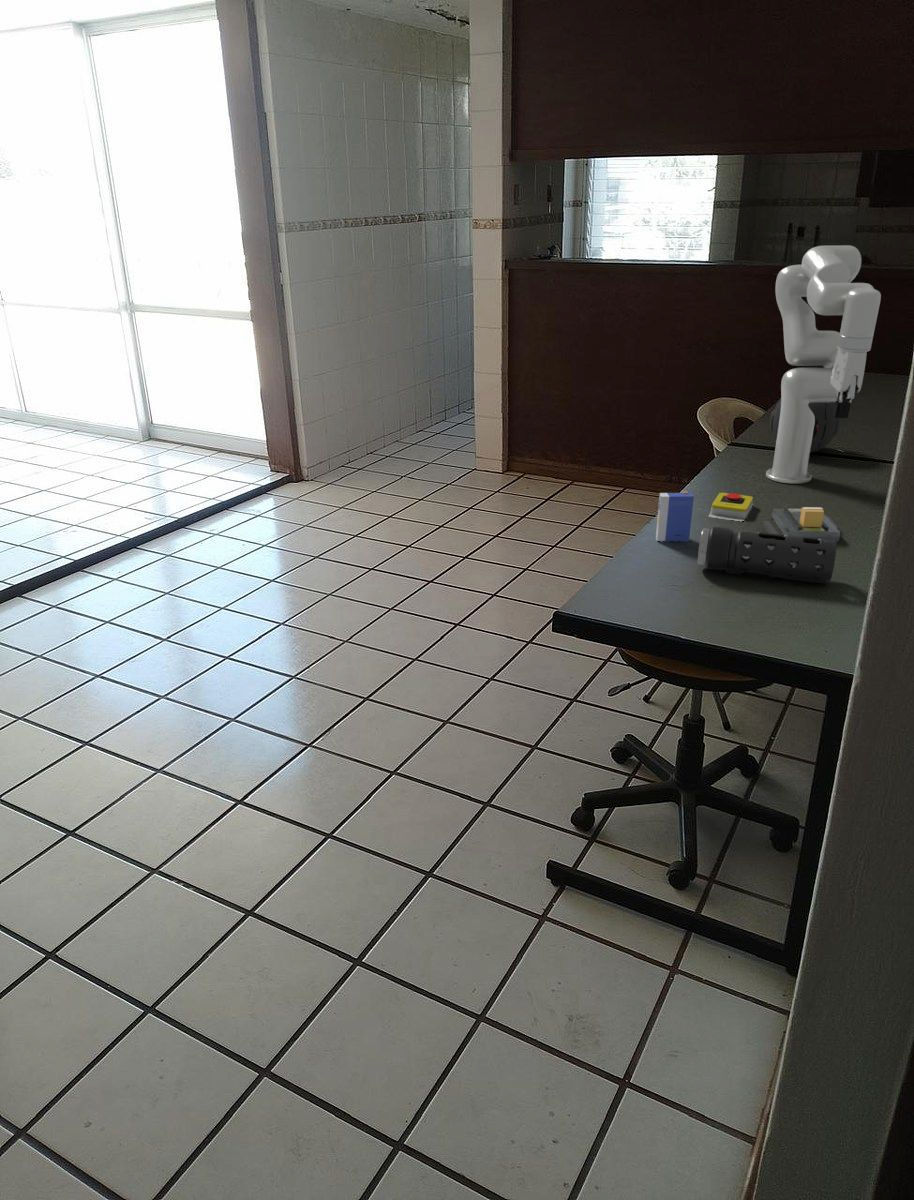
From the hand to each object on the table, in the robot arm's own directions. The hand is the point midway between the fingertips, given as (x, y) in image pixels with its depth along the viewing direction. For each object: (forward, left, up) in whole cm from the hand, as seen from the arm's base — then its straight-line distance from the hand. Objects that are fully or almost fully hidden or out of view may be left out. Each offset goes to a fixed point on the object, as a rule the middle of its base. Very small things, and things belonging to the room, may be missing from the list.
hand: (840, 416), depth 226 cm
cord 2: (+10, -1, -26) cm, 28 cm away
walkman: (+20, -43, -26) cm, 54 cm away
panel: (+12, -8, -26) cm, 30 cm away
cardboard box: (+16, -8, -23) cm, 29 cm away
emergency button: (-1, -24, -26) cm, 35 cm away
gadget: (-57, +10, -26) cm, 63 cm away
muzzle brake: (+41, -26, -26) cm, 55 cm away
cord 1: (+17, -17, -26) cm, 35 cm away
